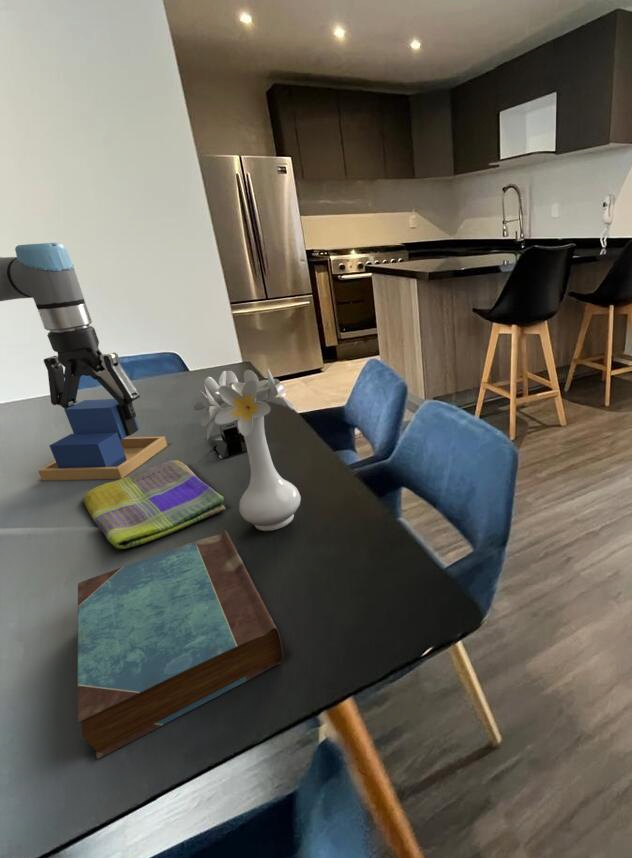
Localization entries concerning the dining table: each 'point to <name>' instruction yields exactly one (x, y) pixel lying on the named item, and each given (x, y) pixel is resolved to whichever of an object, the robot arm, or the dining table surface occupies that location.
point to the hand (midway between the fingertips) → (108, 433)
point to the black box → (230, 441)
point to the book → (167, 639)
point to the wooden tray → (135, 454)
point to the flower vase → (252, 443)
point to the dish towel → (151, 504)
